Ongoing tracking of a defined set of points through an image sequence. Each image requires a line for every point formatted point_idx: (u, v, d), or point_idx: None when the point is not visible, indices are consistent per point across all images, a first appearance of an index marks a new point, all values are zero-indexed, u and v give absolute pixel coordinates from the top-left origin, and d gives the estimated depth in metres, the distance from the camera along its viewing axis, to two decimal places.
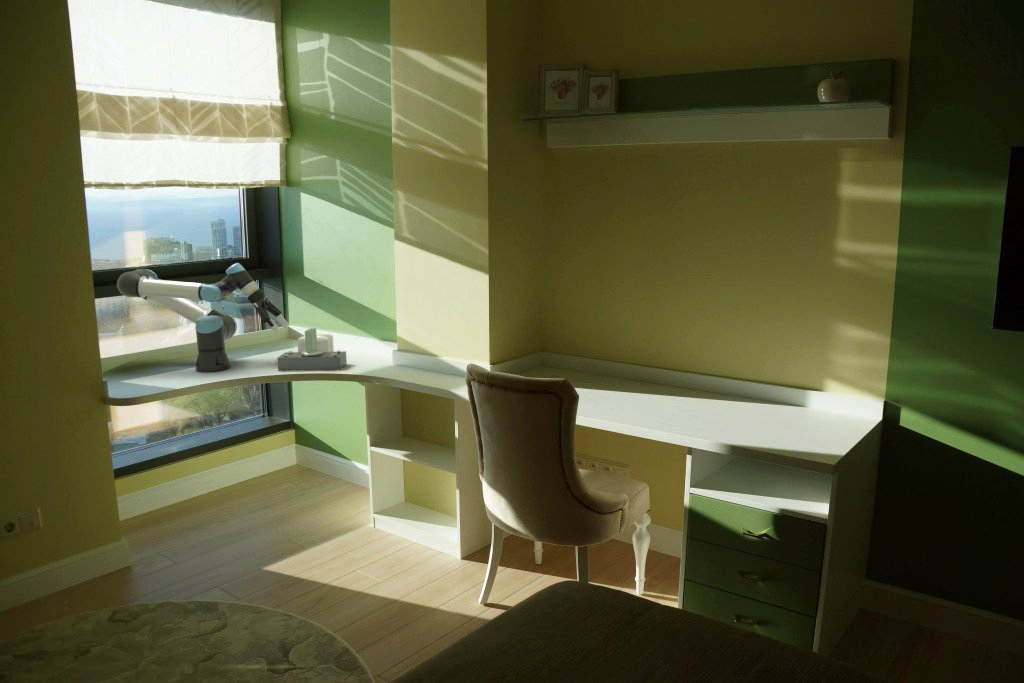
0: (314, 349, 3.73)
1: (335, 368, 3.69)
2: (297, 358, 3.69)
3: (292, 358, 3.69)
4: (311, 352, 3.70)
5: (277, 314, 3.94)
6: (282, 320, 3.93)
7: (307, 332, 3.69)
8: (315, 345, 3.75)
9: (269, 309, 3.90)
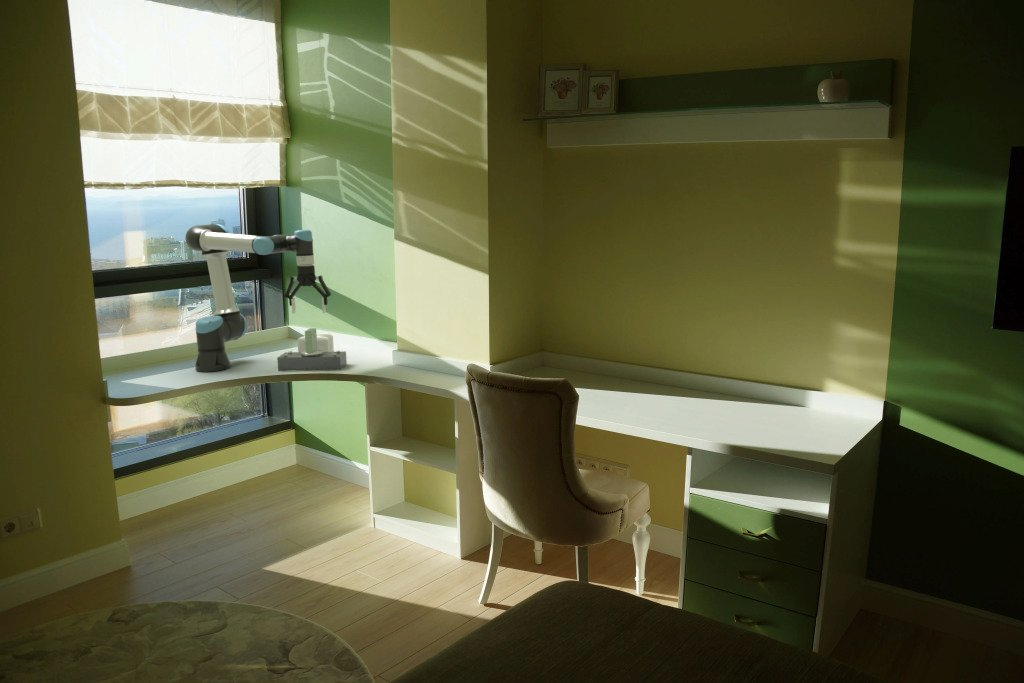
0: (314, 349, 3.73)
1: (335, 368, 3.69)
2: (297, 358, 3.69)
3: (292, 358, 3.69)
4: (311, 352, 3.70)
5: None
6: None
7: (307, 332, 3.69)
8: (315, 345, 3.75)
9: None
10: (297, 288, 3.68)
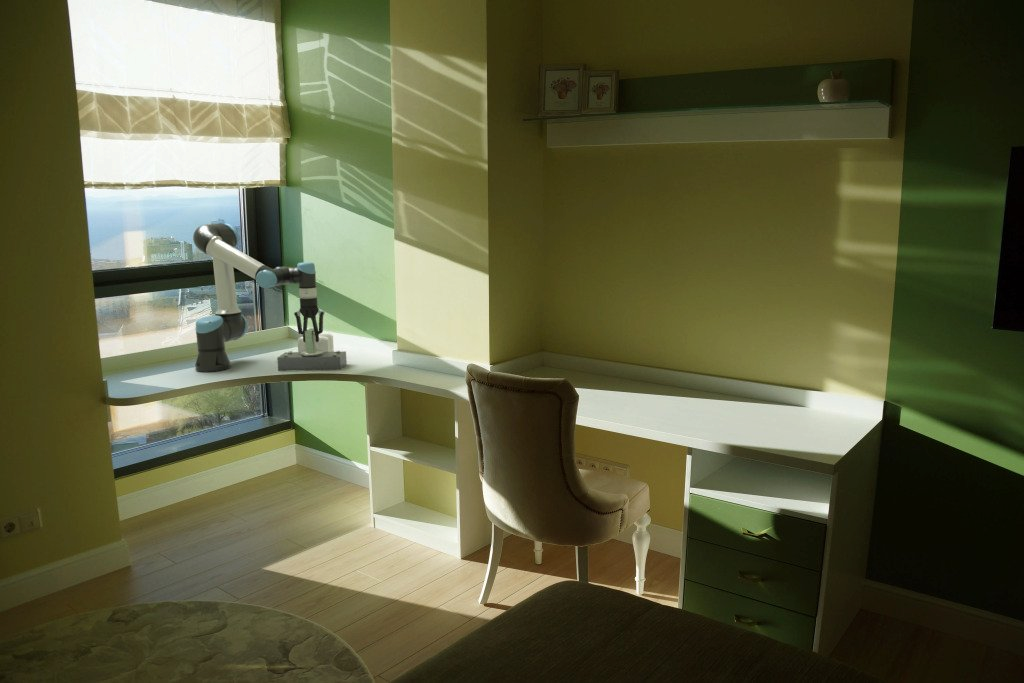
0: None
1: (335, 368, 3.69)
2: (297, 358, 3.69)
3: (292, 358, 3.69)
4: (311, 352, 3.70)
5: (315, 333, 3.73)
6: None
7: (307, 332, 3.69)
8: None
9: None
10: (305, 322, 3.71)
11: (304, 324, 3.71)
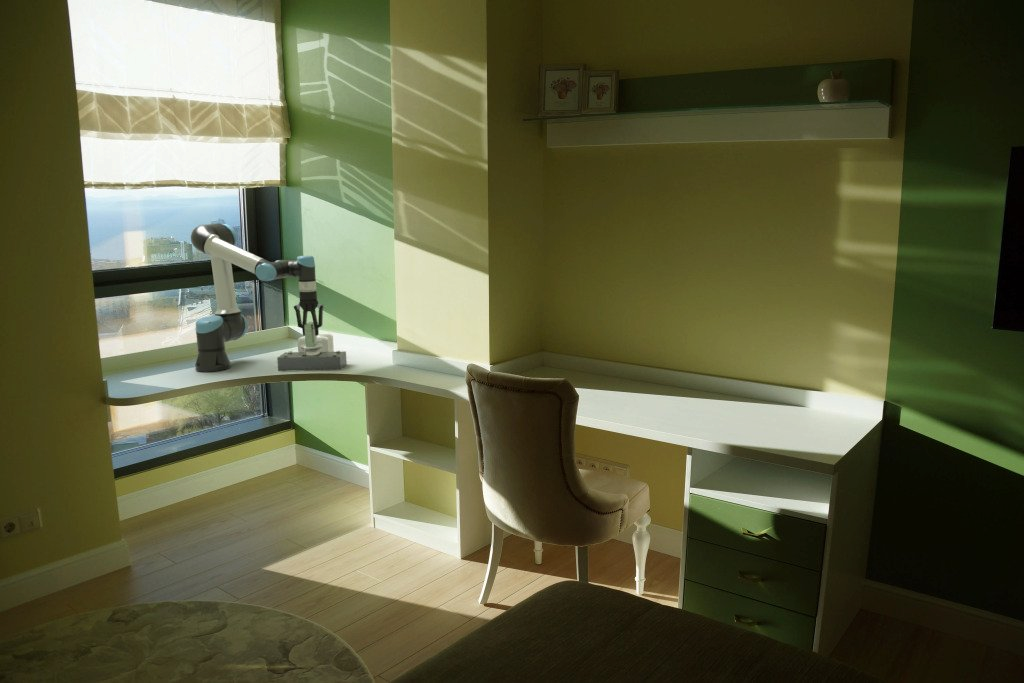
0: (314, 343, 3.73)
1: (335, 368, 3.69)
2: (297, 358, 3.69)
3: (292, 358, 3.69)
4: (311, 346, 3.70)
5: None
6: None
7: (307, 325, 3.68)
8: None
9: None
10: (304, 315, 3.70)
11: (304, 317, 3.70)
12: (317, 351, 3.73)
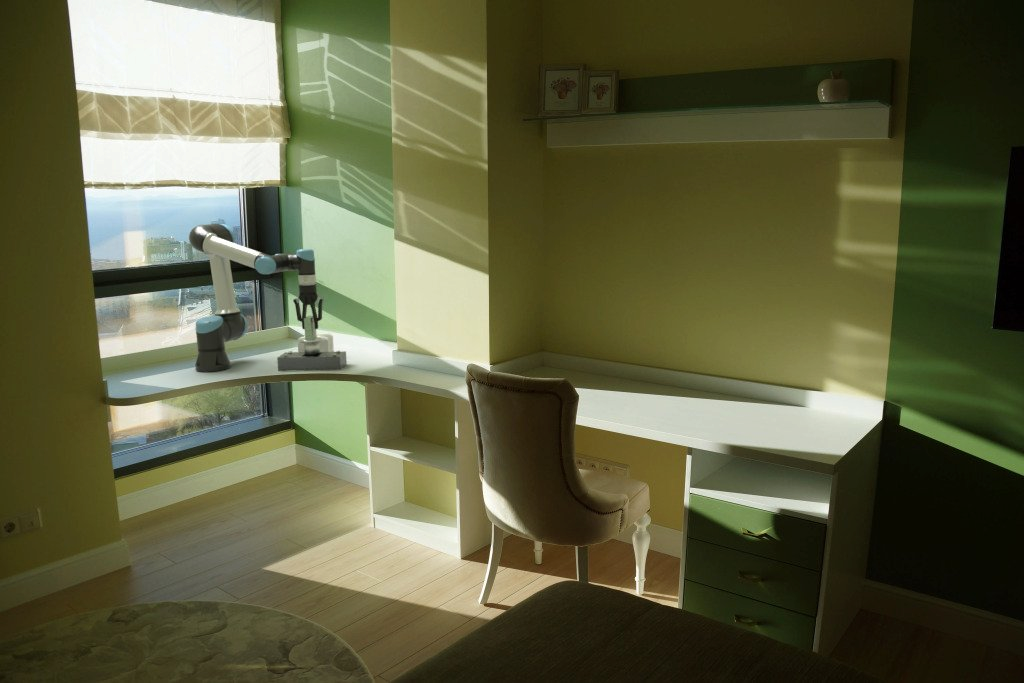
0: None
1: (335, 368, 3.69)
2: (297, 358, 3.69)
3: (292, 358, 3.69)
4: (310, 339, 3.69)
5: None
6: None
7: (306, 319, 3.68)
8: None
9: None
10: (304, 309, 3.70)
11: (303, 311, 3.70)
12: (317, 345, 3.72)
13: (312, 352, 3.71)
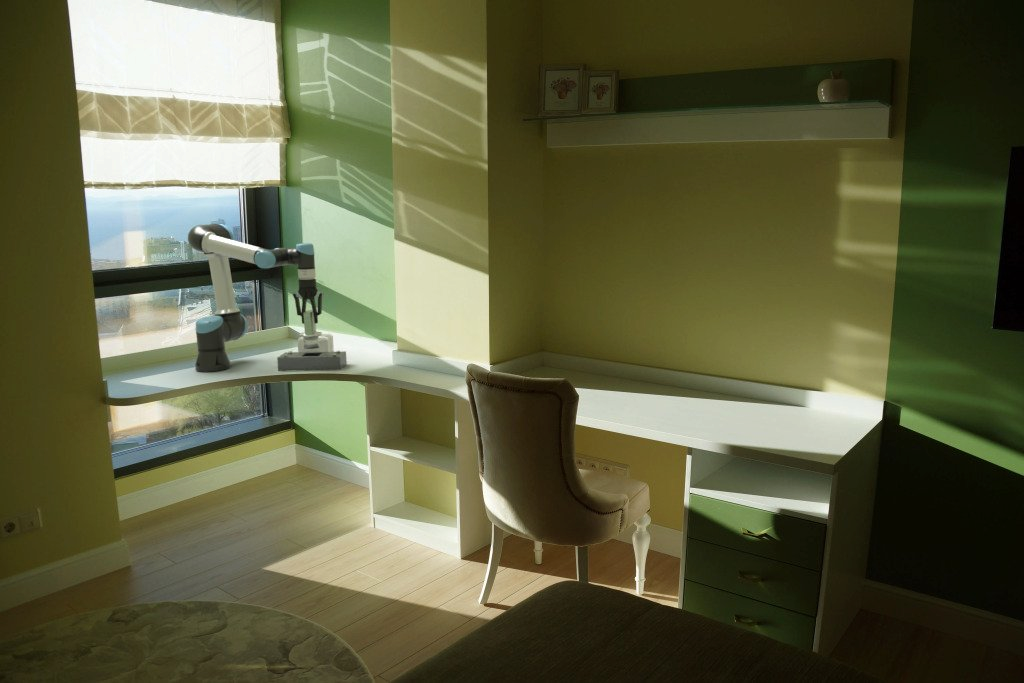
0: (313, 331, 3.72)
1: (335, 368, 3.69)
2: (297, 358, 3.69)
3: (292, 358, 3.69)
4: (310, 333, 3.69)
5: (314, 314, 3.71)
6: None
7: (306, 313, 3.67)
8: None
9: None
10: (304, 303, 3.69)
11: (303, 305, 3.69)
12: (316, 339, 3.72)
13: (312, 346, 3.71)
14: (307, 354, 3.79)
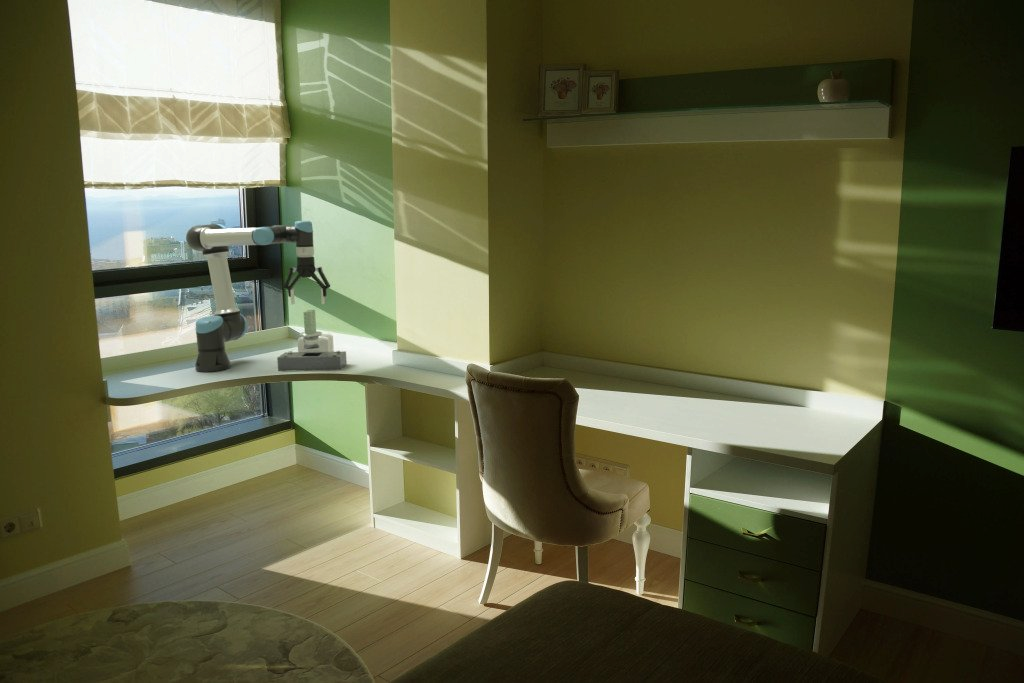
0: (313, 330, 3.72)
1: (335, 368, 3.69)
2: (297, 358, 3.69)
3: (292, 358, 3.69)
4: (310, 333, 3.69)
5: None
6: None
7: (306, 313, 3.67)
8: (314, 326, 3.73)
9: None
10: (296, 279, 3.67)
11: (294, 280, 3.68)
12: (316, 339, 3.72)
13: (312, 346, 3.71)
14: (307, 354, 3.79)
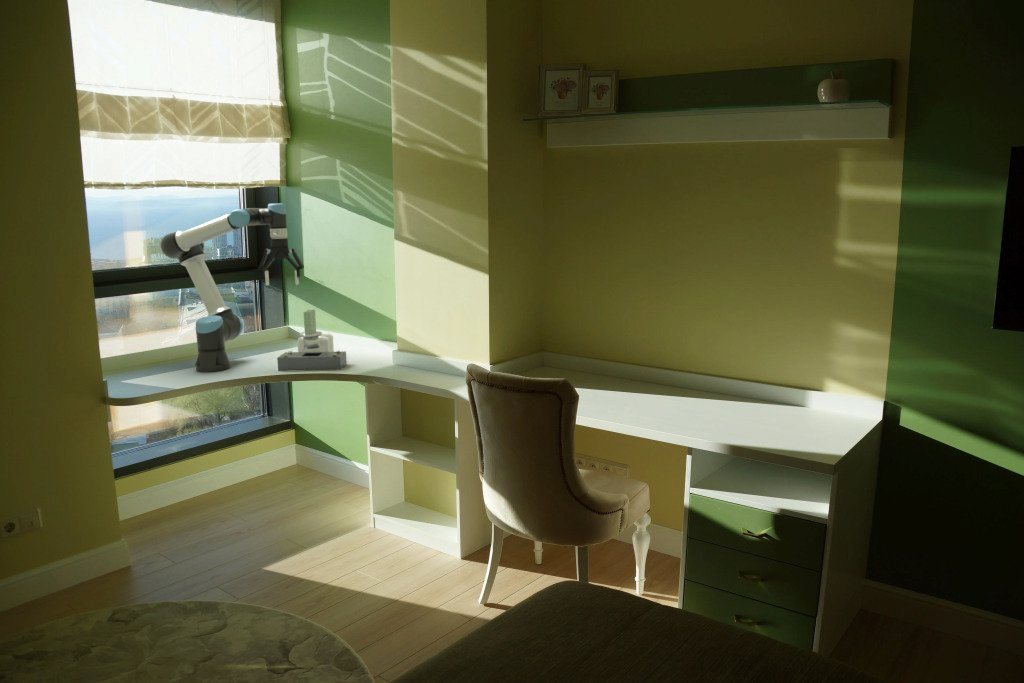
0: (313, 330, 3.72)
1: (335, 368, 3.69)
2: (297, 358, 3.69)
3: (292, 358, 3.69)
4: (310, 333, 3.69)
5: None
6: None
7: (306, 313, 3.67)
8: (314, 326, 3.73)
9: None
10: (270, 260, 3.75)
11: (269, 262, 3.75)
12: (316, 339, 3.72)
13: (312, 346, 3.71)
14: (307, 354, 3.79)
